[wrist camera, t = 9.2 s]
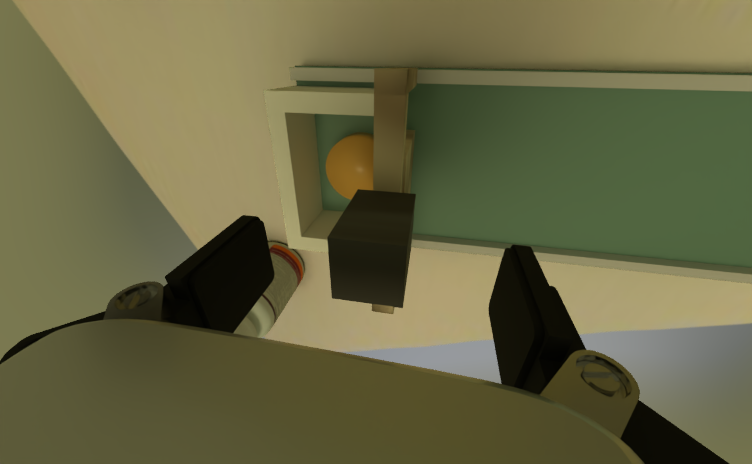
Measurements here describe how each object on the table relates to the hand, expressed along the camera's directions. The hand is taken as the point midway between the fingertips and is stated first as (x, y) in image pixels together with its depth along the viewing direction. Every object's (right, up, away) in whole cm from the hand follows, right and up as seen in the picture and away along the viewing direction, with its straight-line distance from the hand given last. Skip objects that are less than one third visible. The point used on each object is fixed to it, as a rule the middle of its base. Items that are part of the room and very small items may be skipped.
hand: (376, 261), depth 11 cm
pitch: (+12, +6, +12) cm, 18 cm away
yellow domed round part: (-1, +7, +13) cm, 14 cm away
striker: (+2, +6, +12) cm, 13 cm away
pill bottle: (-11, -2, +22) cm, 25 cm away
